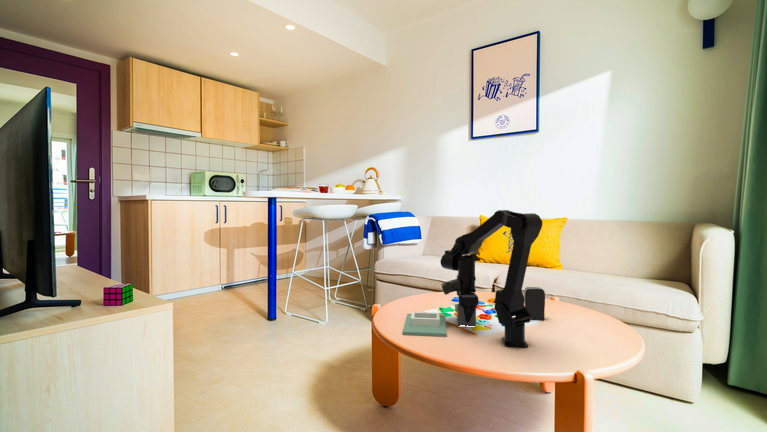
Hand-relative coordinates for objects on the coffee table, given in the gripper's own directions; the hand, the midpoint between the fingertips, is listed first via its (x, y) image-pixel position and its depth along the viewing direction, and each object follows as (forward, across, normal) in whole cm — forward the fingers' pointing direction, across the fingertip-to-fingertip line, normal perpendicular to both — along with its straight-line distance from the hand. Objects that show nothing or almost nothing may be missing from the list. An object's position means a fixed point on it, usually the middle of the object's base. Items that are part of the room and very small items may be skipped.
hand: (466, 317), depth 128 cm
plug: (+3, 0, 0) cm, 3 cm away
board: (+3, +2, -14) cm, 14 cm away
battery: (+3, -11, +25) cm, 27 cm away
